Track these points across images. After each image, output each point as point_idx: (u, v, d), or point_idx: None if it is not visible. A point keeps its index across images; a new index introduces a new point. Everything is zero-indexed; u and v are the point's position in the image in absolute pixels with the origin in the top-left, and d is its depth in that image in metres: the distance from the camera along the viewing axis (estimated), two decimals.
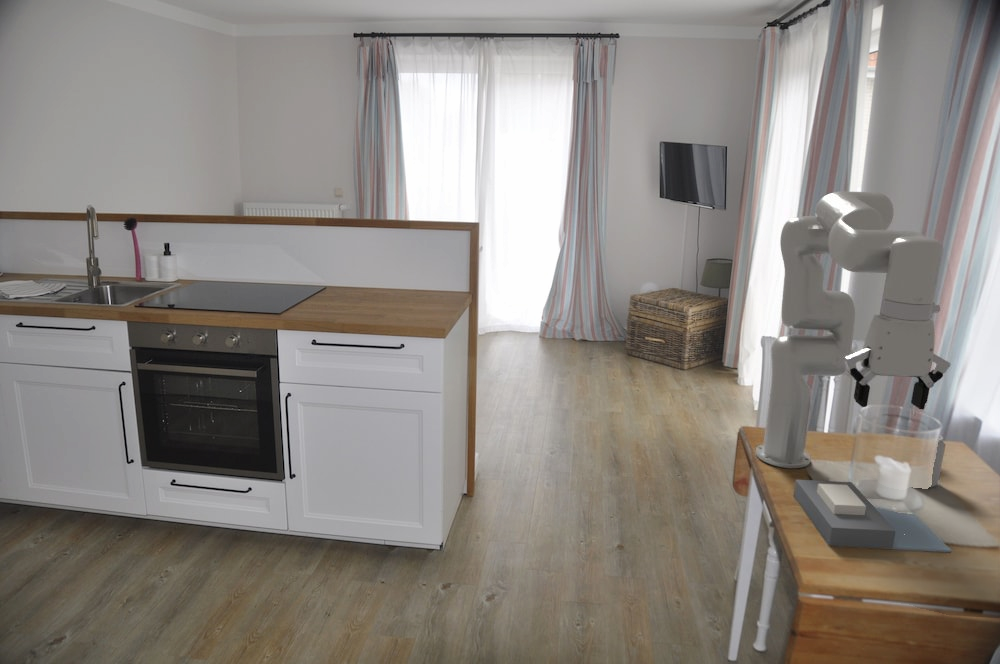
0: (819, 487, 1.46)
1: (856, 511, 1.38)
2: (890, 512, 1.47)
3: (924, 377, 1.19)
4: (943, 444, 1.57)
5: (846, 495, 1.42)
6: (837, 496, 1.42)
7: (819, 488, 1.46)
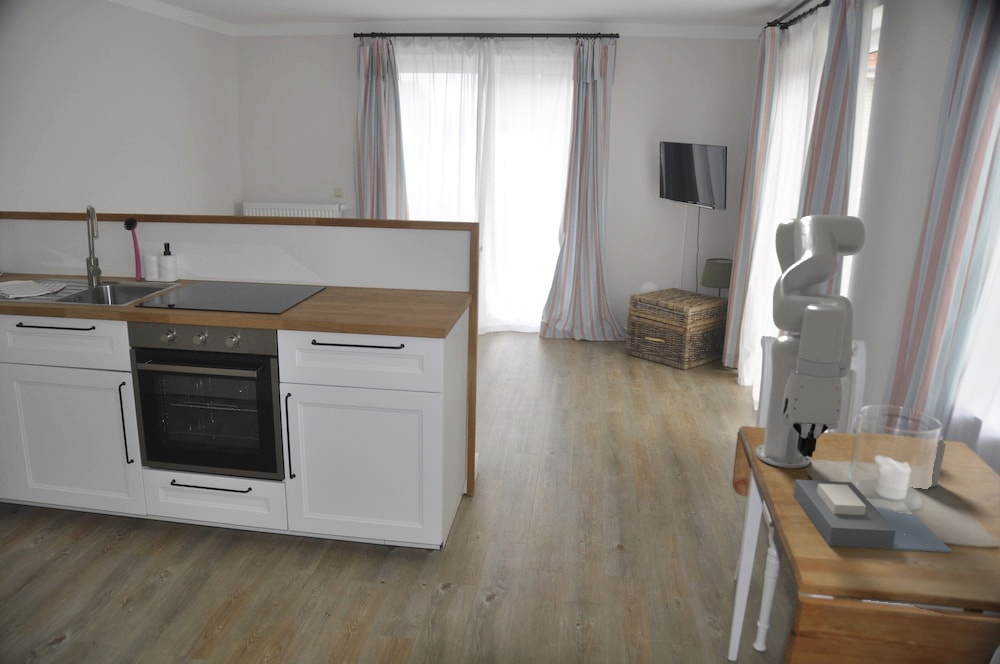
0: (819, 487, 1.46)
1: (856, 511, 1.38)
2: (890, 512, 1.47)
3: (818, 427, 1.37)
4: (943, 444, 1.57)
5: (846, 495, 1.42)
6: (837, 496, 1.42)
7: (819, 488, 1.46)
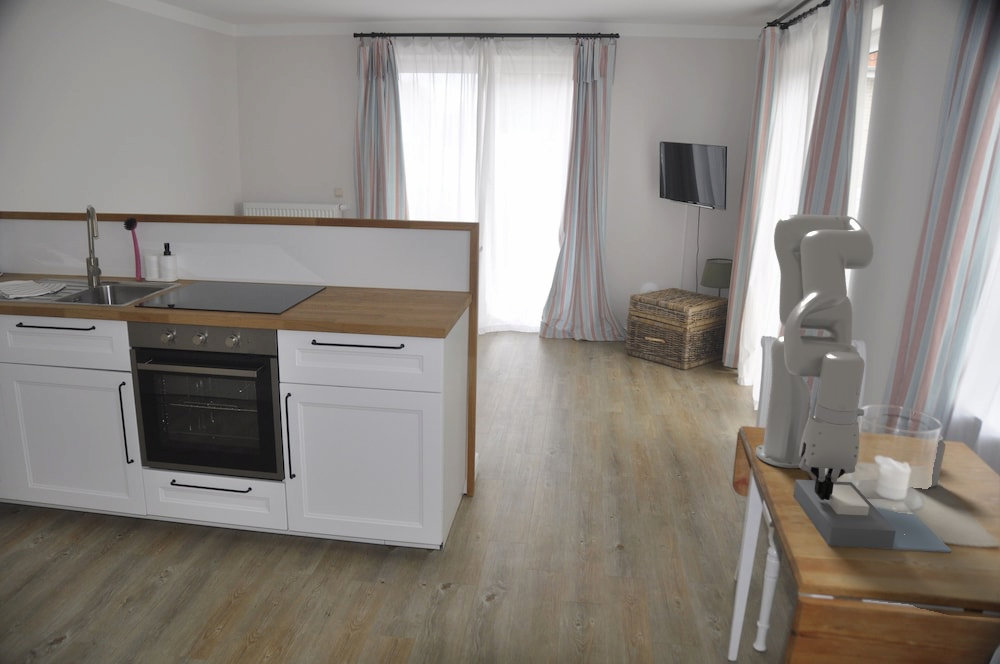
0: None
1: (860, 511, 1.38)
2: (890, 512, 1.47)
3: (836, 472, 1.40)
4: (943, 444, 1.57)
5: (849, 495, 1.42)
6: (840, 496, 1.42)
7: None
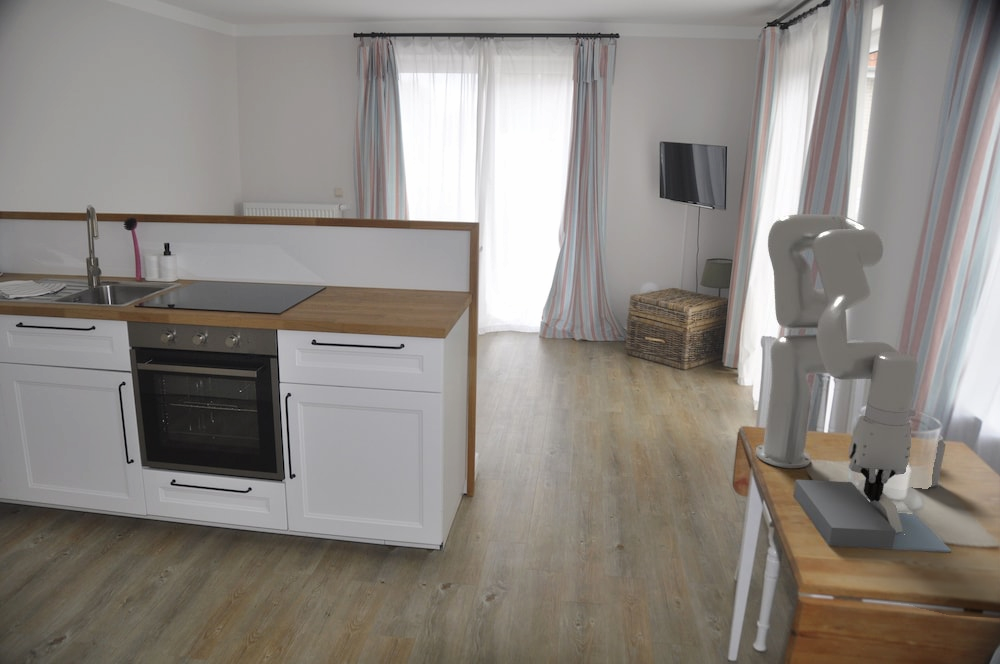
0: None
1: (895, 525, 1.38)
2: None
3: (886, 473, 1.39)
4: (943, 444, 1.57)
5: None
6: None
7: None
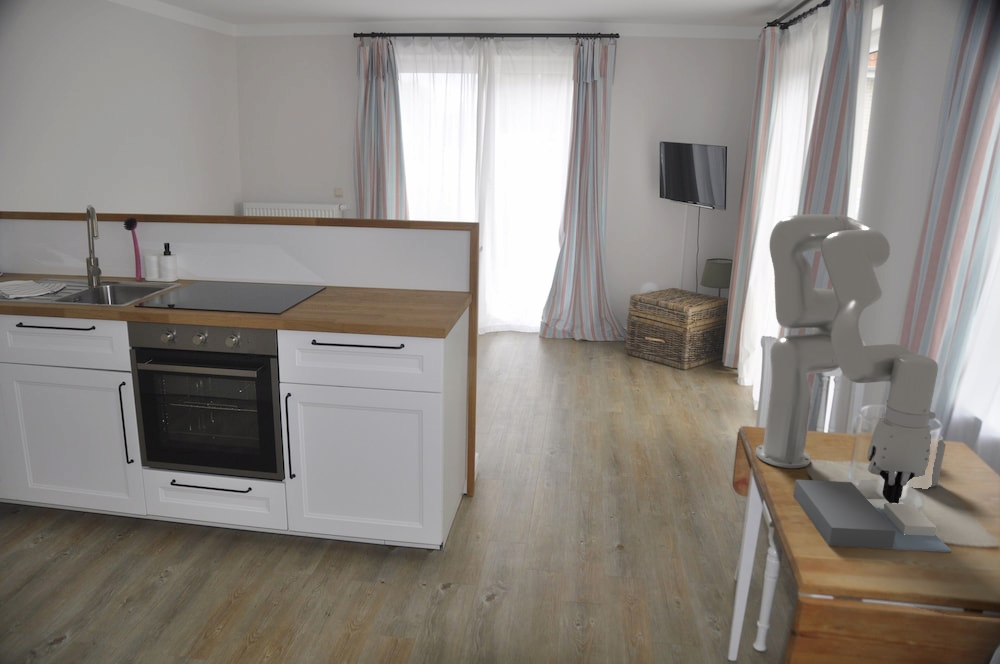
0: None
1: (912, 529, 1.38)
2: None
3: (905, 475, 1.39)
4: (943, 444, 1.57)
5: None
6: None
7: None
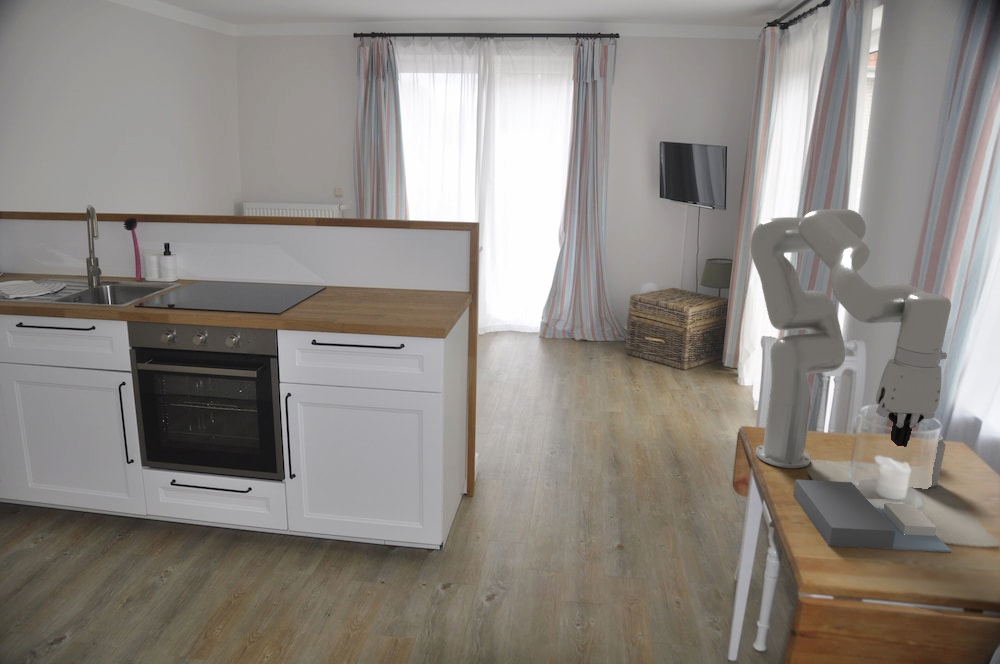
0: None
1: (912, 529, 1.38)
2: None
3: (915, 417, 1.36)
4: (943, 444, 1.57)
5: None
6: None
7: None
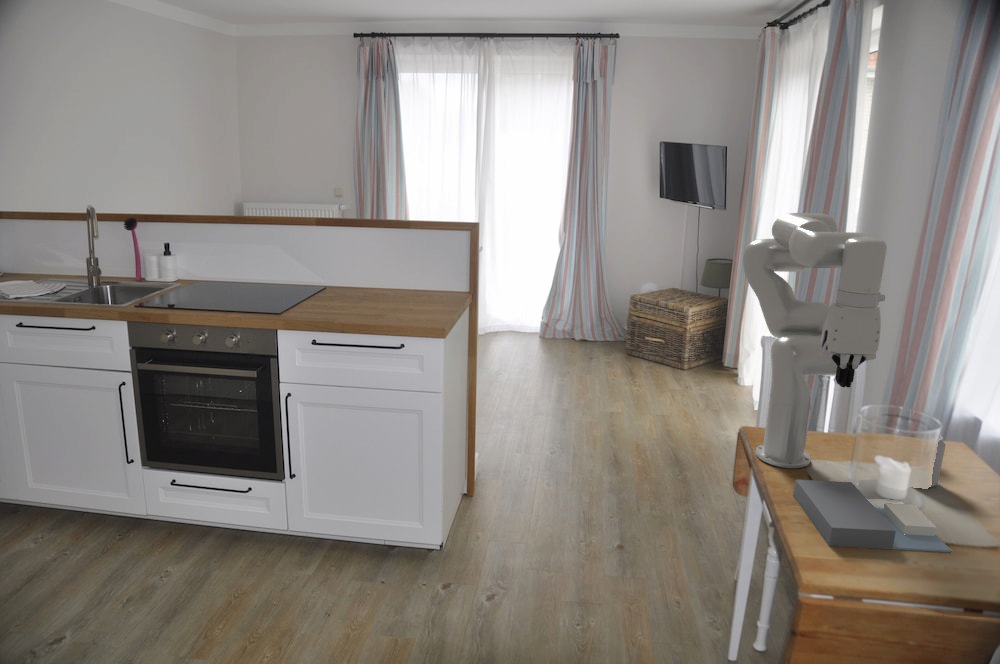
0: None
1: (912, 529, 1.38)
2: None
3: (857, 358, 1.42)
4: (943, 444, 1.57)
5: None
6: None
7: None
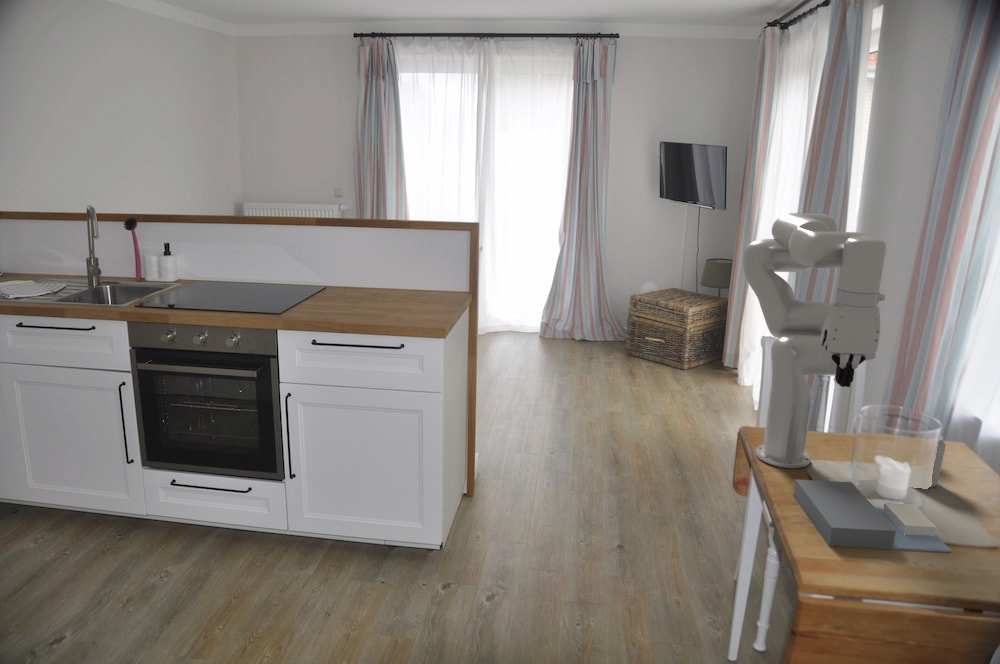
0: None
1: (912, 529, 1.38)
2: None
3: (856, 358, 1.42)
4: (943, 444, 1.57)
5: None
6: None
7: None
